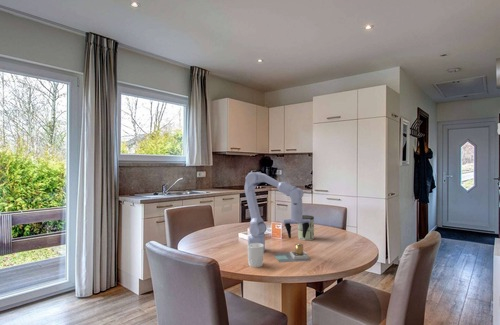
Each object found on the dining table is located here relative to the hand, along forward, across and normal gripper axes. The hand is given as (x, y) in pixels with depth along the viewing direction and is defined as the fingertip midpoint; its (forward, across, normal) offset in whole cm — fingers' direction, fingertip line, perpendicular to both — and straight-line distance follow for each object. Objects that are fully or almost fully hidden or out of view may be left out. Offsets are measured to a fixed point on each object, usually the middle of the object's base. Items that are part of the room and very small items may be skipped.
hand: (296, 237), depth 150 cm
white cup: (+10, -23, -10) cm, 27 cm away
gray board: (+10, -3, -2) cm, 11 cm away
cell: (+9, +1, -2) cm, 10 cm away
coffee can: (+10, +16, +35) cm, 40 cm away
